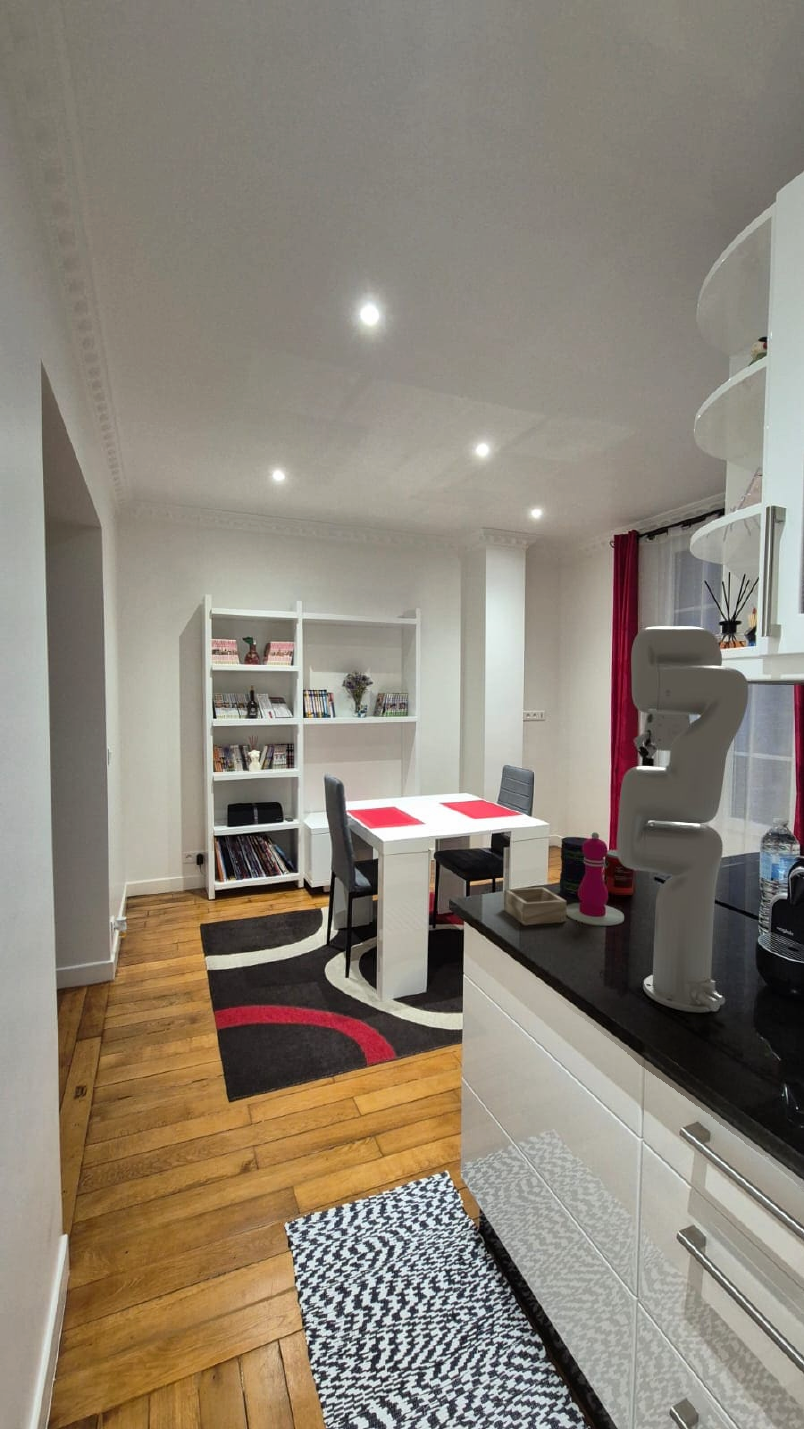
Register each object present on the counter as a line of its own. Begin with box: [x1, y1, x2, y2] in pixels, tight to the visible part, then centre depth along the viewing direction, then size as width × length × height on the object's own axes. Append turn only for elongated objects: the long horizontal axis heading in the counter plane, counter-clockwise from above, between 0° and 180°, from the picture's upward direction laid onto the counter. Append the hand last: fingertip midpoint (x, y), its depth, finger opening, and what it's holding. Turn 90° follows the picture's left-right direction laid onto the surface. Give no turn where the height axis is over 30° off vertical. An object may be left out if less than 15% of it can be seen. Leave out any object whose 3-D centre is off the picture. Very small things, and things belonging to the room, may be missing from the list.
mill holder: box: [503, 886, 567, 926], centre depth 149 cm, size 11×11×5 cm
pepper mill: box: [578, 832, 609, 917], centre depth 150 cm, size 7×7×20 cm
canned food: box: [603, 849, 635, 896], centre depth 170 cm, size 8×8×11 cm
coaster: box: [566, 902, 625, 927], centre depth 151 cm, size 14×14×1 cm
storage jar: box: [559, 836, 589, 901], centre depth 166 cm, size 10×10×15 cm
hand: (664, 774), depth 143 cm, fingers open, 9 cm apart
